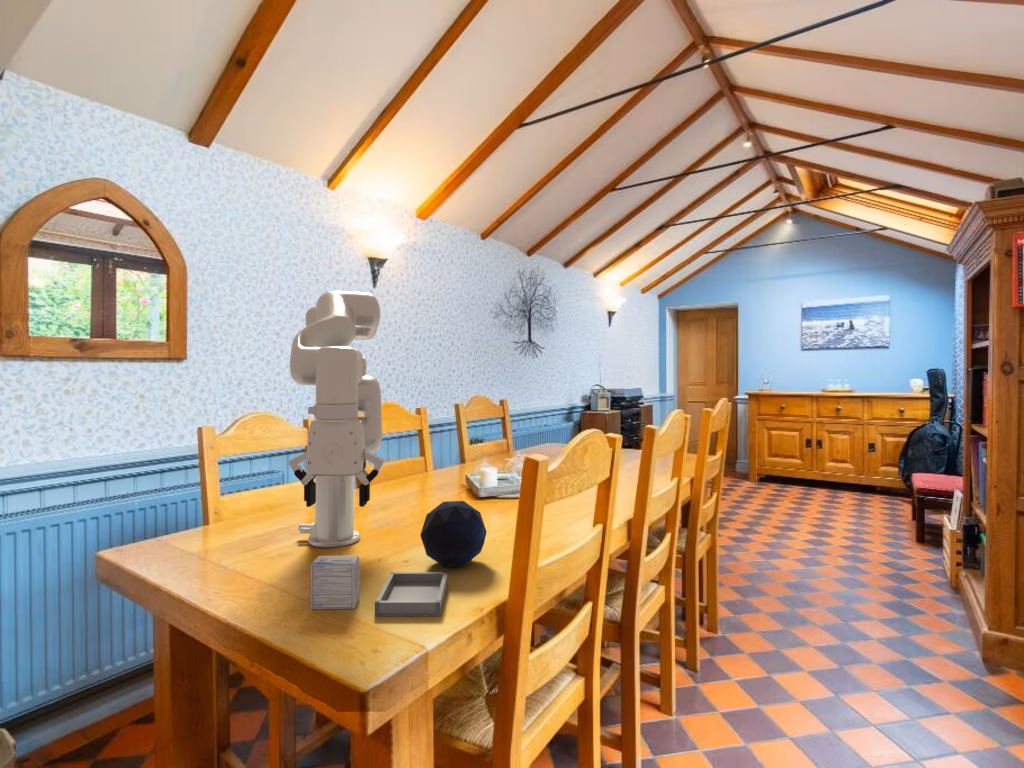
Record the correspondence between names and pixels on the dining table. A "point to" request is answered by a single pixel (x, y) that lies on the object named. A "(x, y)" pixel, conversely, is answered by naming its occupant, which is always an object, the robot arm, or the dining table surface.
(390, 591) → the tray
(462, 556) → the decorative orb
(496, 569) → the dining table surface
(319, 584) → the medicine box
